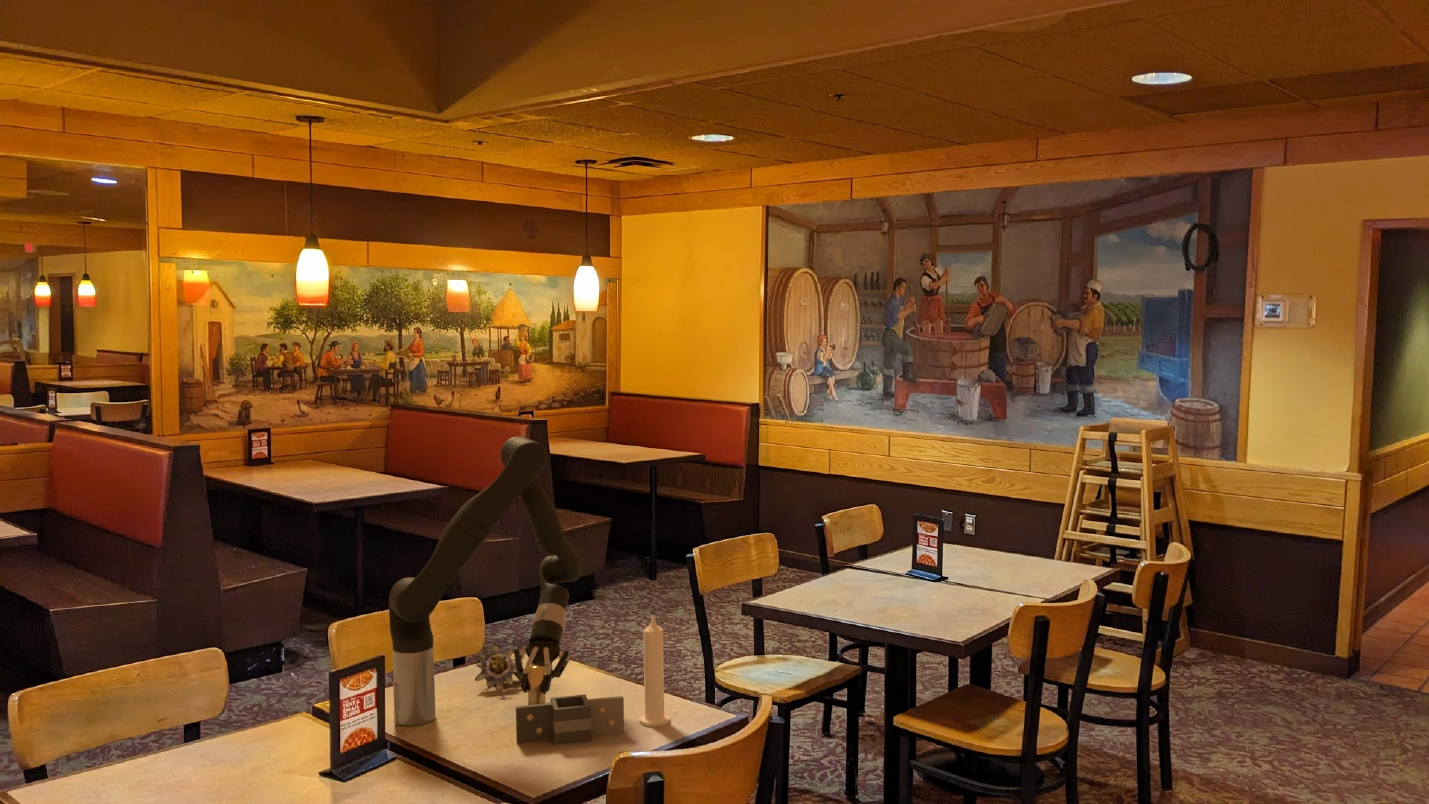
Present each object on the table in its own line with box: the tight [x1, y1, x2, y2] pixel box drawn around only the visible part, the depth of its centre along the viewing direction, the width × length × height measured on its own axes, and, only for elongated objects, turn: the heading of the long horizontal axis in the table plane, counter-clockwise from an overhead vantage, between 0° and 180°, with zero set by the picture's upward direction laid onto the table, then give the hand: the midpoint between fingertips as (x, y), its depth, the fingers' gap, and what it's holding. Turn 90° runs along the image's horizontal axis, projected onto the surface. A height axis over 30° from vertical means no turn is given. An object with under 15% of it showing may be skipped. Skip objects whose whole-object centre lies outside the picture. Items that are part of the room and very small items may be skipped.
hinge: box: [515, 693, 625, 746], centre depth 240 cm, size 24×8×8 cm, turn 105°
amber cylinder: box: [527, 663, 546, 705], centre depth 250 cm, size 4×4×10 cm
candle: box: [638, 615, 671, 728], centre depth 248 cm, size 7×7×25 cm
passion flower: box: [474, 645, 523, 692], centre depth 275 cm, size 11×11×12 cm
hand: (534, 691), depth 248 cm, fingers closed on amber cylinder, 4 cm apart
